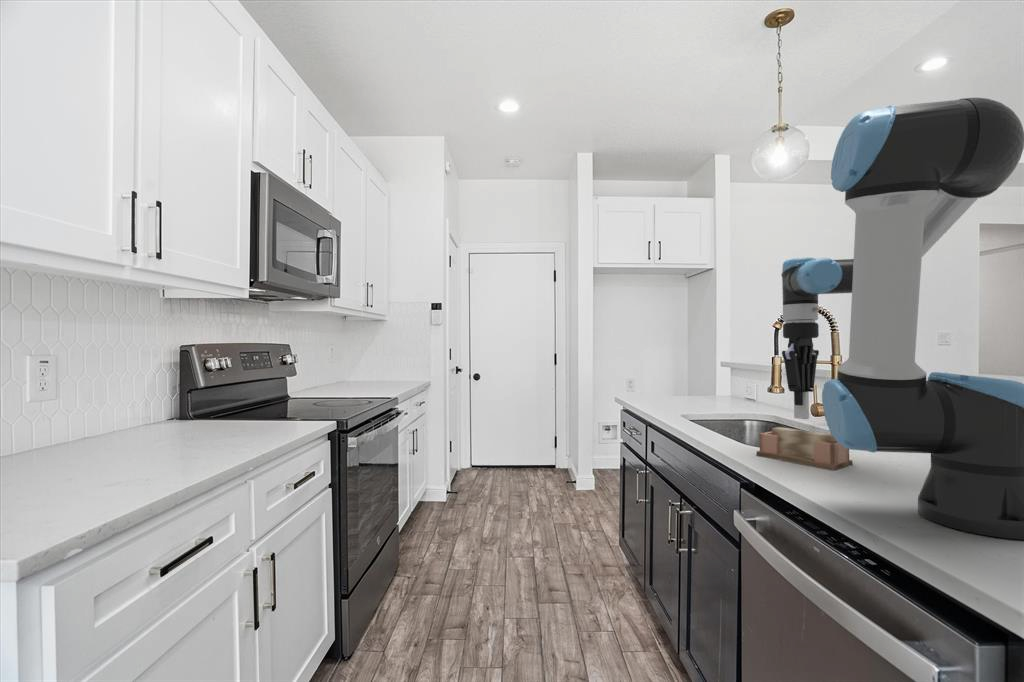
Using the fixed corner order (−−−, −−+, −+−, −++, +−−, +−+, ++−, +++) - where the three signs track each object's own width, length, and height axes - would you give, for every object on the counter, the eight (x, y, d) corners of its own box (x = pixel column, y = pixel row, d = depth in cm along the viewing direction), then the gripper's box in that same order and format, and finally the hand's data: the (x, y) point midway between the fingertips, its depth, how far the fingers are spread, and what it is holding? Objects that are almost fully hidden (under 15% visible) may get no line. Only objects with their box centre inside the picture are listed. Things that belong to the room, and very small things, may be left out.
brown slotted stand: (835, 465, 109) (834, 445, 109) (759, 451, 124) (759, 433, 124) (849, 460, 113) (849, 441, 113) (774, 447, 128) (774, 430, 128)
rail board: (833, 470, 109) (833, 465, 109) (756, 455, 124) (756, 451, 124) (852, 464, 113) (852, 460, 114) (775, 451, 129) (775, 447, 129)
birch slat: (772, 451, 123) (771, 428, 124) (778, 450, 125) (778, 426, 125) (832, 462, 112) (832, 436, 112) (838, 460, 113) (838, 435, 113)
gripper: (802, 321, 112) (803, 423, 112) (830, 321, 119) (831, 417, 119) (770, 322, 119) (771, 418, 119) (798, 323, 126) (799, 414, 126)
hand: (801, 418), depth 119 cm, fingers closed
